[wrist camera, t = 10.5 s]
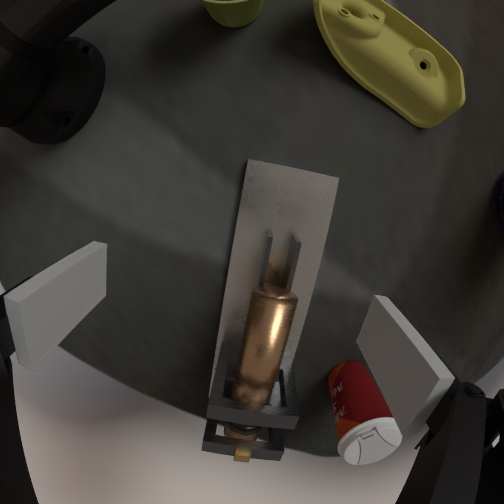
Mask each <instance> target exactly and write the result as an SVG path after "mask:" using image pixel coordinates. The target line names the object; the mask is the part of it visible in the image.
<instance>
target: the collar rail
mask: <svg viewBox="0 0 504 504" xmlns="http://www.w3.org/2000/svg"><path fill="white" fill-rule="evenodd" d="M338 182H339V178H336V177H332V176H328V175H323V174H319V173H315V172H310V171H306V170H301V169H296V168H292V167H287V166H282V165H277V164H272V163H266V162H261V161H255V160H250V159H248V163H247V168H246V174H245V179H244V185H243V190H242V196H241V201H240V207H239V212H238V218H237V224H236V229H235V235H234V241H233V247H232V253H231V258H230V264H229V270H228V276H227V282H226V288H225V294H224V301H223V307H222V313H221V319H220V326H219V332H218V338H217V345H216V351H215V358H214V364H213V371H212V378H211V384H210V391H209V402H208V408H207V415H206V418H207V423H206V428H205V433H204V438H203V445H202V451H207V452H213V453H218V454H225V455H231V456H234V461H240V462H249V460H250V458H255V459H265V460H276V461H280V459H281V457H282V455H283V453H284V439H283V429H295V426H296V424H297V422H298V420H299V417H300V416H299V408H298V401H297V394H296V387H295V380H294V374H293V367H292V362H293V358H294V355H295V352H296V349H297V345H298V342H299V339H300V335H301V332H302V328H303V325H304V322H305V318H306V314H307V311H308V307H309V304H310V300H311V296H312V293H313V289H314V285H315V281H316V277H317V274H318V270H319V266H320V262H321V258H322V254H323V250H324V245H325V241H326V237H327V233H328V228H329V224H330V219H331V215H332V210H333V206H334V201H335V196H336V191H337V187H338ZM264 285H266V286H275V287H280V288H283V289H286V290H288V291H290V292H292V293H294V294H295V295H296V296H297V297H298V303H297V307H296V311H295V315H294V318H293V322H292V326H291V329H290V333H289V337H288V340H287V344H286V347H285V351H284V354H283V358H282V361H281V365H280V368H279V371H278V375H277V378H276V381H275V385H274V388H273V391H272V394H271V398H270V401H269V404H268V405H261V404H253V403H246V402H240V401H234V400H230V398H231V394H232V389H233V384H234V379H235V374H236V369H237V364H238V360H239V355H240V350H241V345H242V340H243V335H244V330H245V325H246V320H247V315H248V310H249V305H250V300H251V295H252V290H253V288H255V287H257V286H264ZM218 420H222V421H228V422H234V423H240V424H247V425H255V426H263V427H269V442H262V441H253V440H245V439H238V438H231V437H225V436H219V435H215V434H216V428H217V422H218Z"/></svg>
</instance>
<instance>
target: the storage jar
mask: <svg viewBox="0 0 504 504" xmlns="http://www.w3.org/2000/svg"><path fill="white" fill-rule="evenodd" d="M493 208H494V214H495V218H496V220H497V222H498V224H499V226H500V227H501V228H502V229H503V230H504V171H503V172H502V173H501V174H500V176H499V178H498V179H497V182H496V185H495V188H494V194H493Z"/></svg>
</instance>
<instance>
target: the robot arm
mask: <svg viewBox="0 0 504 504" xmlns="http://www.w3.org/2000/svg"><path fill="white" fill-rule="evenodd" d="M115 1H116V0H0V127H8V128H10V129H11V130H13V131H14V132H16V133H17V134H19V135H20V136H22V137H24V138H25V139H27V140H28V141H30V142H33V143H37V144H57V143H60V142H63V141H65V140H67V139H68V138H70V137H71V136H73V135H74V134H75V133H77V132H78V131H79V130H80V129H81V128H82V127H83V125H84V124H85V123H86V122H87V121H88V119H89V118H90V116H91V115H92V113H93V112H94V110H95V108H96V106H97V104H98V102H99V100H100V97H101V94H102V91H103V87H104V82H105V64H104V60H103V57H102V55H101V53H100V51H99V50H98V49H97V48H96V47H95V46H93V45H92V44H91V43H89V42H87V41H86V40H84V39H81V38H78V37H68V36H69V35H70V34H71V33H73V32H74V31H75V30H76V29H77V28H79V27H80V26H81V25H82V24H84V23H85V22H86V21H88V20H89V19H90V18H92V17H93V16H94V15H96V14H97V13H98V12H100V11H101V10H103V9H104V8H106V7H107V6H108V5H110V4H112V3H113V2H115ZM106 259H107V244H105V243H100V242H96V241H93V242H92V243H90V244H88V245H86V246H84V247H83V248H81V249H79V250H77V251H76V252H74V253H72V254H70V255H69V256H67V257H65V258H64V259H62V260H60V261H58V262H57V263H55V264H53V265H52V266H50V267H48V268H47V269H45V270H44V271H42V272H40V273H39V274H37V275H35V276H31V277H28V278H27V279H25V280H23V281H22V282H20V284H17V285H16V286H14V288H13V287H12V288H11V289H9V290H8V291H6V292H5V293H3V294H2V295H0V504H39V503H38V501H37V497H36V494H35V492H34V488H33V485H32V482H31V478H30V475H29V471H28V467H27V464H26V459H25V455H24V451H23V446H22V441H21V436H20V431H19V425H18V419H17V412H16V405H15V397H14V386H13V375H12V374H13V373H12V363H11V359H10V355H11V354H12V353H14V352H16V355H17V359H18V362H19V364H20V365H22V366H24V367H26V368H28V369H30V370H32V371H35V370H36V368H37V367H38V366H39V365H40V364H41V363H42V362H43V360H45V358H46V357H47V356H48V355H49V354H50V353H51V352H52V351H53V350H54V348H55V347H56V346H57V345H58V344H59V343H60V342H61V341H62V340H63V339H64V338H65V337H66V336H67V335H68V334H69V333H70V331H71V330H72V329H73V328H74V327H75V326H76V325H77V324H78V323H79V322H80V321H81V320H82V319H83V318H84V317H85V316H86V315H87V314H88V313H89V312H90V311H91V310H92V309H93V308H94V307H95V306H96V305H97V304H98V303H99V302H100V301H101V300H102V299H103V298H104V297H105V296H106ZM356 342H357V344H358V346H359V348H360V350H361V352H362V354H363V356H364V358H365V360H366V362H367V364H368V366H369V368H370V370H371V372H372V374H373V376H374V378H375V380H376V382H377V384H378V386H379V388H380V390H381V392H382V394H383V396H384V398H385V400H386V403H387V405H388V407H389V409H390V411H391V413H392V415H393V417H394V419H395V422H396V424H397V426H398V428H399V430H400V432H401V435H411V434H417V433H418V432H419V431H420V430H421V428H422V427H423V426H424V424H425V423H427V425H428V427H429V430H428V432H427V433H426V434H425V435H424V437H423V438H422V439H421V440H420V442H419V443H418V444H417V445H416V447H415V448H414V449H417V448H418V447H419V446H420V449H419V452H418V454H417V457H416V459H415V462H414V464H413V467H412V469H411V471H410V474H409V476H408V478H407V480H406V483H405V485H404V487H403V489H402V491H401V493H400V495H399V497H398V499H397V501H396V503H395V504H504V389H500V390H499V391H498V393H497V394H496V396H495V397H494V399H491V398H486V397H485V394H484V392H483V391H482V390H481V389H480V388H479V387H478V386H476V385H474V384H472V383H469V382H463V383H461V382H460V381H459V380H458V378H457V377H456V376H455V374H454V373H453V372H452V371H451V369H450V368H449V367H448V366H447V364H446V363H445V362H444V361H442V358H441V357H440V356H439V355H438V353H437V352H435V351H434V350H433V349H432V348H431V347H430V346H429V345H428V344H427V343H426V341H425V340H424V339H423V338H422V337H421V335H420V334H419V333H418V332H417V331H416V330H415V328H414V327H413V326H412V325H411V324H410V323H409V321H408V320H407V319H406V318H405V317H404V316H403V314H402V313H401V312H400V311H399V310H398V309H397V308H396V307H395V305H394V304H393V303H392V302H391V301H390V300H389V299H388V298H387V297H384V296H378V295H374V297H373V299H372V302H371V305H370V308H369V310H368V313H367V316H366V318H365V321H364V324H363V326H362V329H361V331H360V334H359V336H358V339H357V341H356ZM499 434H500V439H499V442H498V443H497V445H496V446H495V447H494V448H493V446H492V443H493V441H494V440H495V439H496V438H497V437H498V435H499Z"/></svg>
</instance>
